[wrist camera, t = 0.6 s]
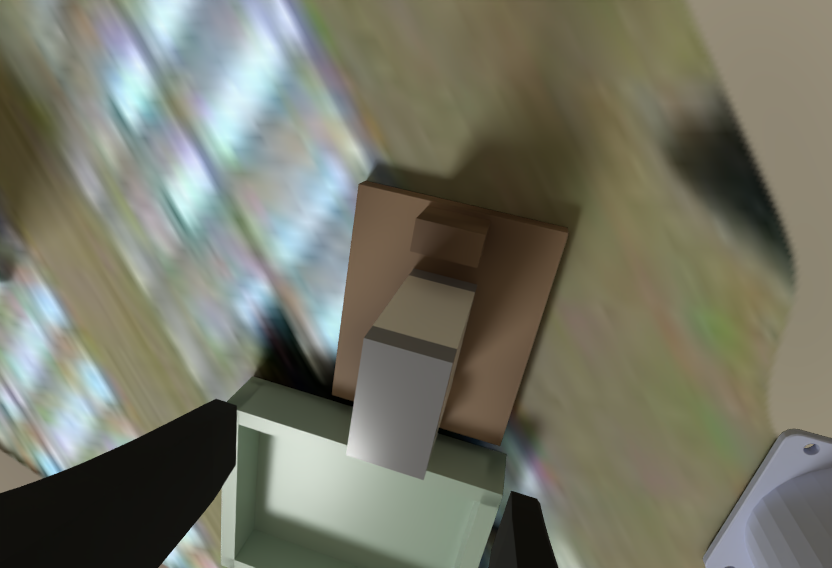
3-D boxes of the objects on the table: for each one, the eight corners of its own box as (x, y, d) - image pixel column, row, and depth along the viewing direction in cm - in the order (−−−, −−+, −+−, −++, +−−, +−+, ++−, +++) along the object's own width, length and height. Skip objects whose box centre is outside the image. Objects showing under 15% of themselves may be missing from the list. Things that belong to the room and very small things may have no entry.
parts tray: (506, 454, 22) (503, 495, 20) (456, 602, 26) (449, 650, 24) (252, 376, 24) (222, 405, 22) (246, 527, 28) (220, 564, 26)
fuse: (477, 284, 18) (452, 363, 13) (454, 377, 20) (423, 480, 15) (413, 268, 19) (363, 338, 13) (396, 360, 21) (345, 454, 15)
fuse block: (567, 227, 18) (572, 249, 15) (501, 434, 22) (496, 479, 19) (365, 180, 19) (338, 193, 16) (338, 385, 23) (313, 421, 20)
